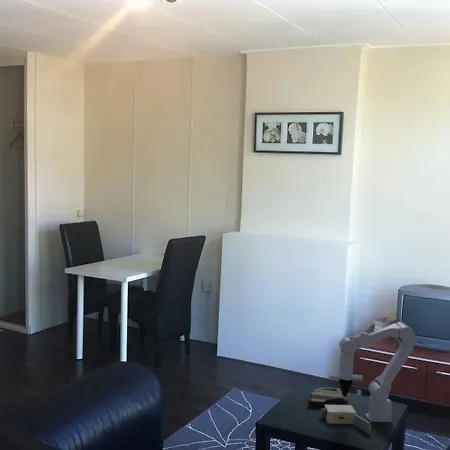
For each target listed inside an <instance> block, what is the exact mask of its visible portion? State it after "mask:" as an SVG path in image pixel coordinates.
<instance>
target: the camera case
mask: <svg viewBox="0 0 450 450" xmlns="http://www.w3.org/2000/svg"><path fill="white" fill-rule="evenodd" d="M319 414H320V417H321V418H325V421H326V423H327V424H340V425H341V424H344V425H345V424H351V425H354V424H353V414H356V415H357V411H356V410H355V409H354V407H353V405H350V404H348V405H324V408H320V413H319Z"/></svg>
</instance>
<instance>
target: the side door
mask: <svg viewBox="0 0 450 450" xmlns="http://www.w3.org/2000/svg"><path fill="white" fill-rule="evenodd" d="M370 424H371V422H370V421H369V420H368V421H367V420H366V419H365V418H363V417H361V416H359V415H358V414H357V413H356V414H353V424H352V425H353V426H356V427H357V428H359V429H360V430H361V431H363V432H365V433H366V434H370V430H372V426H371V425H370Z"/></svg>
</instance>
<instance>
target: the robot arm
mask: <svg viewBox="0 0 450 450" xmlns="http://www.w3.org/2000/svg"><path fill="white" fill-rule="evenodd" d="M390 337H392V338H395V339H397V340H398V344H399V347H398V348H397V349H396V351H395V353H394V355H393V356H392V357H391V359H390V361H389V362H388V363H387V365H386V367H385V368H384V370H383V371H382V372H381V374H380V375H379V376H376V378H375V379H374V380H372V381H370V383H369V384H368V391H369V392H370V395H369V400H368V413H365V414H364V415H365V416H366V418H367V419H368V421H369V422H370V423H371V422H372V423H392V410H393V405H392V400H391V399H390V398H389V395H390V392H391V390H392V383H393V382H394V379H395V378H396V376H397V375H398V373H399V372H400V371H401V369H402V367H403V366H404V364H405V362H407V360H408V358H409V356H410V355H411V354H412V352H413V350H414V346H415V345H414V344H415V338H416V334H415V331H414V330H413V328H411V327H410V326H408V325H407V324H406V323H405V322H402V321H399V322H398V321H397V322H396V323H392V324H389V325H388V326H386V327H383V328H381V329H378V330H376V331H374V332H370V333H368V332H366V331H365V332H364V331H361V332H360V333H359V334H356V335H350V336H349V337H344V338H342V339H341V340H340V342H339V343H338V344H339V345H338V346H339V348H340V356H339V358H340V359H339V370H338V373H334V374H333V373H332V374H331V373H330V374H328V380H329V381H338V383H339V386H340V390H341V392H342V395H343V397H345V398H348V397H347V396H348V393H349V390H350V389H351V386H352V385H353V381H360V382H363V380H364V379H363V375H361V374H353V372H354V359H355V357H354V355H355V354H354V353H355V352H357V350H360V349H362V348H365V347H366V348H367V347H368V346H370V345H371V344H372V343H373V342H374V341H377V340H381V339H382V340H383V339H386V338H390ZM371 346H372V345H371Z"/></svg>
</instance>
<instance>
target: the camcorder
mask: <svg viewBox="0 0 450 450" xmlns="http://www.w3.org/2000/svg"><path fill="white" fill-rule="evenodd" d="M307 400H308V401H307V405H308V406H310V405H312V406H313V405H315V406H325V405H349V398H348V397H343V395H342V389H341V388H339V387H338V388H337V387H319V388H314V389H313V391H311V392H310V397H308V399H307Z"/></svg>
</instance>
